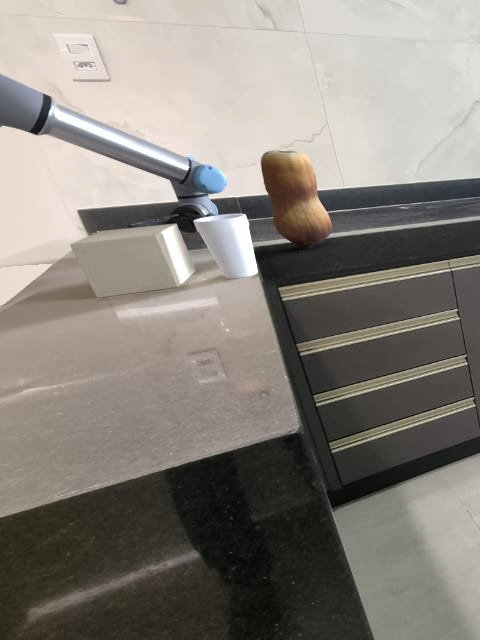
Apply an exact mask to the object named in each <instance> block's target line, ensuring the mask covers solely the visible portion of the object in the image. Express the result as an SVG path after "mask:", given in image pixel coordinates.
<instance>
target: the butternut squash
mask: <svg viewBox="0 0 480 640" xmlns="http://www.w3.org/2000/svg"><path fill="white" fill-rule="evenodd" d="M260 168H261V174H262V179H263V185H264V189H265V191H266V193H267V194H268V196H269V199H270V201H271V205H272V222H273V225H274V228H275V229H276V231H277V233H278V234H279V235H280V236H281V237H282V238H284V239H285V240H287V241H288V242H290V243H291V244H293V245H295V246H296V247H297V248H299V249H301V250H307V249H310V248H312V247H315V246H319V245H321V244H322V243H323V242H324V241H325V240H327V238H328V237H329V236H330V235H331V233H332V231H333V223H332V221H331V217H330V216H329V215H330V214H329V213H328V211H327V210H326V209H325V206H324V205H323V204H322V202H321V200H320V199H319V195H318V183H317V176H316V172H315V168H314V166H313V164H312V161H311V159H310V157H308V155H306V154H305V153H303V152H301V151H298V150H278V149H277V150H276V149H273V150H268V151H265V152H264V153H263V154H262V156H261V158H260Z"/></svg>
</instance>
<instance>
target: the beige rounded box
mask: <svg viewBox="0 0 480 640" xmlns="http://www.w3.org/2000/svg"><path fill="white" fill-rule="evenodd" d="M180 232H181V231H179V228H178V226H177V224H167V225H157V226H147V227H137V228H127V227H126V228H118V229H108V230H100V231H97V232H95V233H93V234H89V235H88V236H86V237H83V238H81V239H78V240H76V241H73V242H71V243H69V246H70V249H71V250H72V253H73V254H74V256H75V258H76V261H77V262H78V264H79V265H80V267H81V268H80V269H82V272H83V274H84V276H85V277H86V280H87V281H88V283H89V285H90V287H91V289H92V291H93V293H94V295H95V297H96V298H97V299H100V298H107V297H114V296H122V295H130V294H137V293H145V292H152V291H160V290H166V289H173V288H174V289H175V288H179V287H180V286H182V284H183V283H184V282H185V281H186V280H187V279H189V278H190V277H191V276H192V275H193V274H194V273H196V272H197V270H196V267H195V265H194V262H193V260H192V257H191V255H190V252H189V249H188V247H187V245H186V243H185V241H184V238H183V235H182V232H181V233H180Z"/></svg>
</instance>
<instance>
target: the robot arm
mask: <svg viewBox="0 0 480 640" xmlns="http://www.w3.org/2000/svg"><path fill="white" fill-rule="evenodd" d="M2 127H8V128H13V129H17V130H20V131H23V132H26V133H28V134H31V135H34V136H36V137H38V136H39V137H40V136H44V135H45V136H46V135H47V136H49V137H52V138H54V139H58V140H60V141H63V142H66V143H69V144H71V145H73V146H77V147H79V148H82V149H84V150H86V151H90V152H93V153H95V154H98V155H100V156H103V157H106V158H108V159H111V160H114V161H117V162H119V163H122V164H125V165H127V166H130V167H133V168H135V169H138V170H141V171H143V172H147V173H150V174H152V175H155V176H157V177H160V178H163V179H165V180H168V181H169V182H170V184H171V187H172V189H173V191H174V194H175V196H176V199H177V202H178V206H176V207H174V208H173V209H172V210H171V211H170V213H169V216H163V217H161V218H160V219H159V218H158V217H155V218H152V219H149V220H144V221H139V222H135V223H132V224H130V223H129V224H127V225H126V229H127V228H137V227H147V226H157V225H167V224H177V226H178V228H179V230H180V232H183V233H188V234H193V233H194V234H195V233H199V232H198V231H197V229H196V226H195V224H194V222H193V221H194V220H196V219H199V218H204V217H209V216H216V215H219V211H218V207H217V206H216V204H215V203H214V202H212V200H211V198H210V196H209V195H214V194H221V193H222V192H223V191H225V189H226V188H227V185H228V180H227V177H226V175H225V173H224V172H223V171H222V170H221V169H220V168H218V167H216V166H214V165H210V164H203V163H202V162H201V163H200V162H199V161H196V160H195V158H193V157H192V156H184V155H181V154H179V153H177V152H174V151H172V150H171V149H168V148H167V149H166V148H165V147H162V146H160V145H157V144H155V143H153V142H150V141H147V140H146V139H143V138H140V137H138V136H136V135H134V134H131V133H129V132H126V131H123V130H121V129H119V128H116V127H114V126H113V125H109V124H107V123H104V122H102V121H99V120H98V119H95V118H92V117H90V116H88V115H85V114H83V113H80V112H78V111H75V110H73V109H71V108H68V107H65V106H64V105H62V104H58V102H56V100H55V99H54V98H53V96H51V95H49V94H46V93H43V92H42V91H39V90H37V89H35V88H33V87H30V86H28V85H26V84H24V83H21V82H19V81H17V80H15V79H13V78H11V77H9V76H6V75H4V74H2V73H0V128H2Z"/></svg>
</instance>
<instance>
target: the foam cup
mask: <svg viewBox="0 0 480 640" xmlns="http://www.w3.org/2000/svg"><path fill="white" fill-rule="evenodd" d="M193 222H194V224H195V226H196V229H197V231H198V232H197V233H198V234H199V235H200V237H201V239H202V240H203V242H204V243H205V246H206V248H207V249H208V250H209V252H210V254H211V256H212V258H213V259H214V261H215V262H216V264H217V266H218V268H219V270H220V271H221V273H222V275H223V276H224V278H225V279H231V280H232V279H242V278H246V277H252V276H255V275H256V274H258V266H257V261H256V256H255V252H254V246H253V242H252V237H251V232H250V223H249V220H248V218H247V215H246V213H226V214H218V215H216V216H209V217H204V218H199V219H196V220H194V221H193Z"/></svg>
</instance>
